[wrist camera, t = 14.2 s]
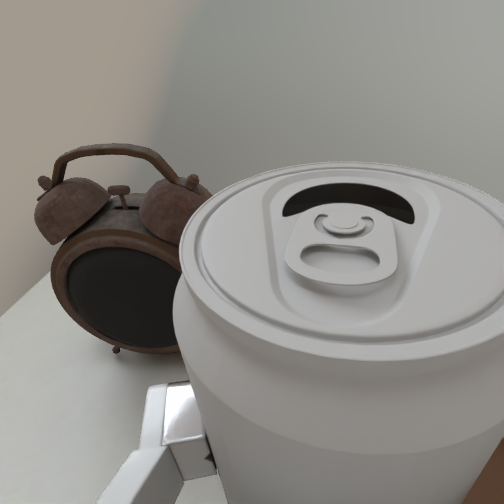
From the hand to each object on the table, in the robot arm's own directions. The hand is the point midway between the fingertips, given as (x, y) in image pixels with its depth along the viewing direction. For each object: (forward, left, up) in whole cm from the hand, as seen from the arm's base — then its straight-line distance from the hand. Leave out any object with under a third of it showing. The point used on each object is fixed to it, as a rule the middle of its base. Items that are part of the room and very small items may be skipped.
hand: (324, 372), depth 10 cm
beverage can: (-1, 0, -7) cm, 7 cm away
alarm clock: (+10, +19, -19) cm, 29 cm away
